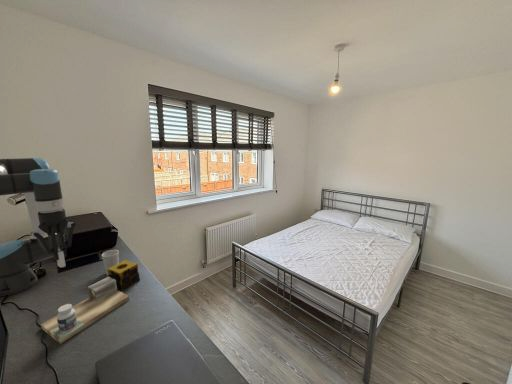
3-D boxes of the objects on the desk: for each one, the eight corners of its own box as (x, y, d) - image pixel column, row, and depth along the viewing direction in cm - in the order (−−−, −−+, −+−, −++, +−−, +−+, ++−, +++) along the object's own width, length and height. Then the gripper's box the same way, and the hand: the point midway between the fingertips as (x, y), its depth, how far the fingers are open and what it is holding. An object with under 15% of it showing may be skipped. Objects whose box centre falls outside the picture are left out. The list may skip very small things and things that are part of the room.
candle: (140, 280, 114) (138, 263, 112) (122, 291, 105) (119, 273, 103) (128, 275, 119) (126, 259, 117) (109, 285, 110) (106, 268, 108)
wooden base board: (41, 328, 83) (37, 311, 82) (110, 290, 106) (108, 276, 105) (61, 344, 77) (57, 326, 75) (130, 299, 100) (128, 285, 98)
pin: (88, 297, 96) (87, 291, 95) (107, 287, 103) (106, 281, 103) (92, 299, 95) (91, 293, 94) (110, 289, 102) (110, 283, 101)
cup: (112, 277, 117) (110, 257, 114) (100, 275, 118) (97, 255, 116) (124, 269, 124) (121, 250, 122) (112, 267, 126) (110, 249, 124)
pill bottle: (56, 330, 80) (51, 310, 78) (72, 320, 85) (68, 301, 83) (64, 335, 78) (60, 314, 76) (80, 324, 83) (77, 304, 81)
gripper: (32, 216, 73) (45, 277, 78) (76, 207, 84) (85, 260, 89) (22, 213, 76) (35, 271, 81) (67, 204, 87) (75, 256, 92)
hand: (61, 265), depth 85 cm, fingers closed
